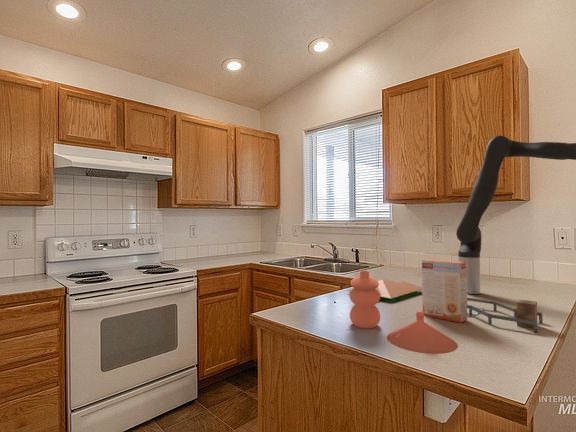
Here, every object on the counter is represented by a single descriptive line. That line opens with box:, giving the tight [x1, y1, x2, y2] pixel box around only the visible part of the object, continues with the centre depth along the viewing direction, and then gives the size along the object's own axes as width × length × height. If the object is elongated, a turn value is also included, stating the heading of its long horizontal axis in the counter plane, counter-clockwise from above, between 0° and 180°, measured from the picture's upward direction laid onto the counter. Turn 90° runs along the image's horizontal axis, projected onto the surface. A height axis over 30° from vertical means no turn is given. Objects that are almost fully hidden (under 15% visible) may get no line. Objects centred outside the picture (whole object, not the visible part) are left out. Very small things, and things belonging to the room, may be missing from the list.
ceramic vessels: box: [349, 270, 459, 355], centre depth 107 cm, size 35×21×19 cm, turn 42°
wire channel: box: [467, 297, 544, 334], centre depth 128 cm, size 32×22×4 cm
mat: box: [467, 307, 485, 316], centre depth 136 cm, size 10×11×1 cm
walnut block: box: [516, 299, 538, 330], centre depth 116 cm, size 5×5×8 cm
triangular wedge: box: [347, 278, 422, 303], centre depth 163 cm, size 23×33×8 cm
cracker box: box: [421, 258, 468, 324], centre depth 126 cm, size 14×6×21 cm, turn 41°
